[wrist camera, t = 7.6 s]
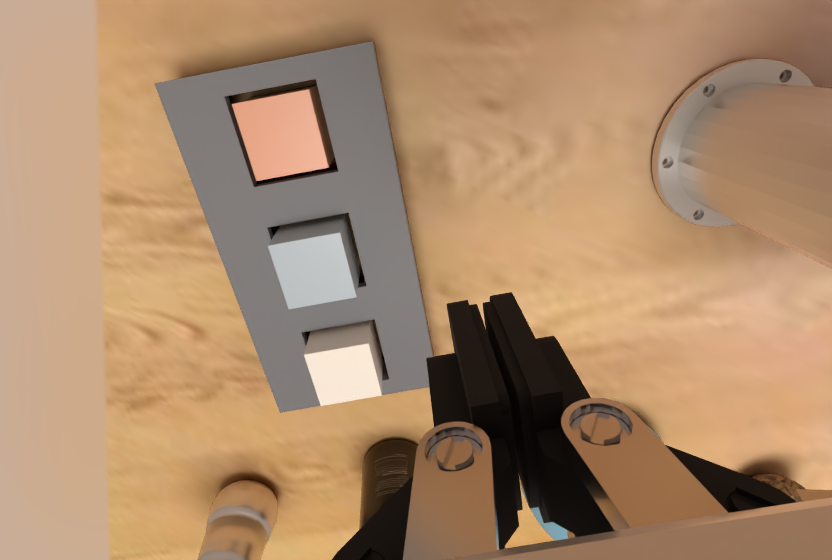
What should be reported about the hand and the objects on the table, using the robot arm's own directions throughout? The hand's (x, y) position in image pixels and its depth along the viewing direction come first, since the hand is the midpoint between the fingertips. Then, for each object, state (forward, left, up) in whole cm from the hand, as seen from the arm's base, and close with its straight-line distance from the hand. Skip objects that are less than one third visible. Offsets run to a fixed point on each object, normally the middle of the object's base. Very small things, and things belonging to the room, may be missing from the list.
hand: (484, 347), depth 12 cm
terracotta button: (+9, -4, -27) cm, 29 cm away
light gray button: (+9, +6, -25) cm, 27 cm away
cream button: (+9, +15, -25) cm, 30 cm away
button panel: (+9, +6, -27) cm, 29 cm away
